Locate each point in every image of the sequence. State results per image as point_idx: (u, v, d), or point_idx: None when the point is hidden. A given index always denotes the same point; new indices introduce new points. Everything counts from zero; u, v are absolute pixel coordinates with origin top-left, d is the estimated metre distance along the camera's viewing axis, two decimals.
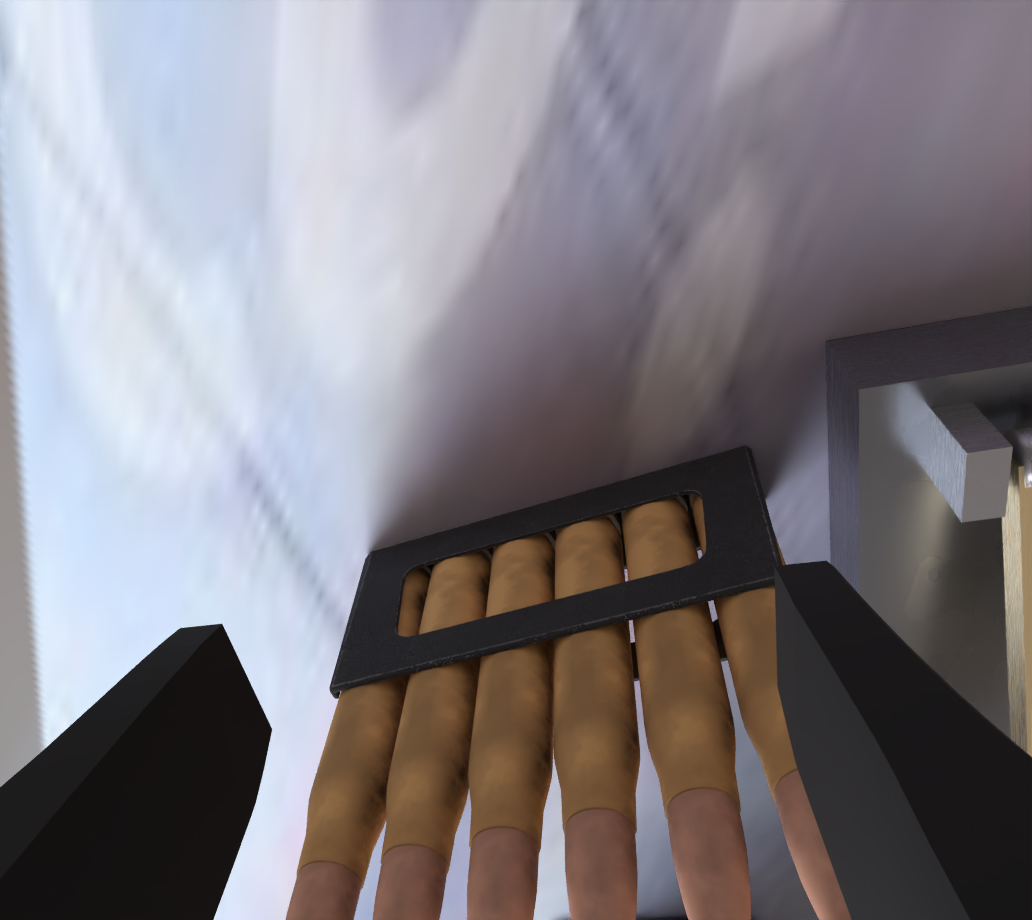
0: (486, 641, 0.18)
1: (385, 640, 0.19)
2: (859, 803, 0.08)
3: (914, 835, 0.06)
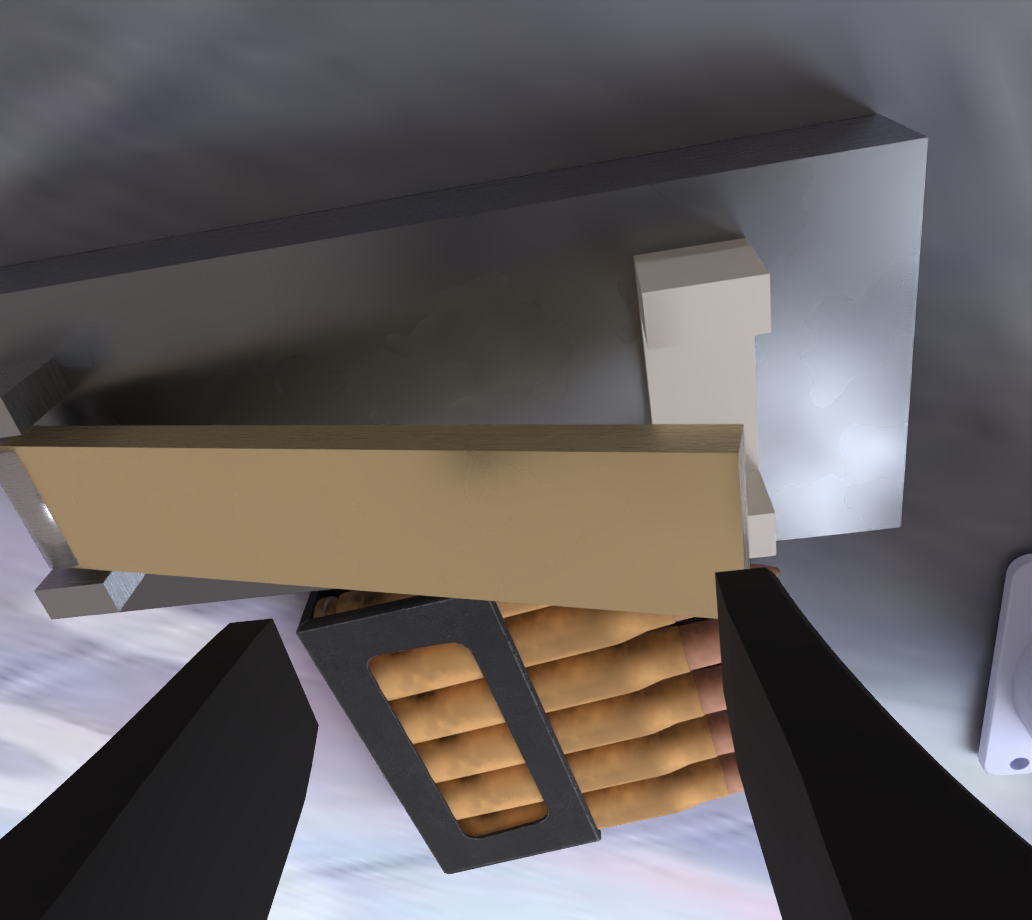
0: (554, 760, 0.23)
1: (552, 824, 0.24)
2: (782, 807, 0.08)
3: (817, 841, 0.06)
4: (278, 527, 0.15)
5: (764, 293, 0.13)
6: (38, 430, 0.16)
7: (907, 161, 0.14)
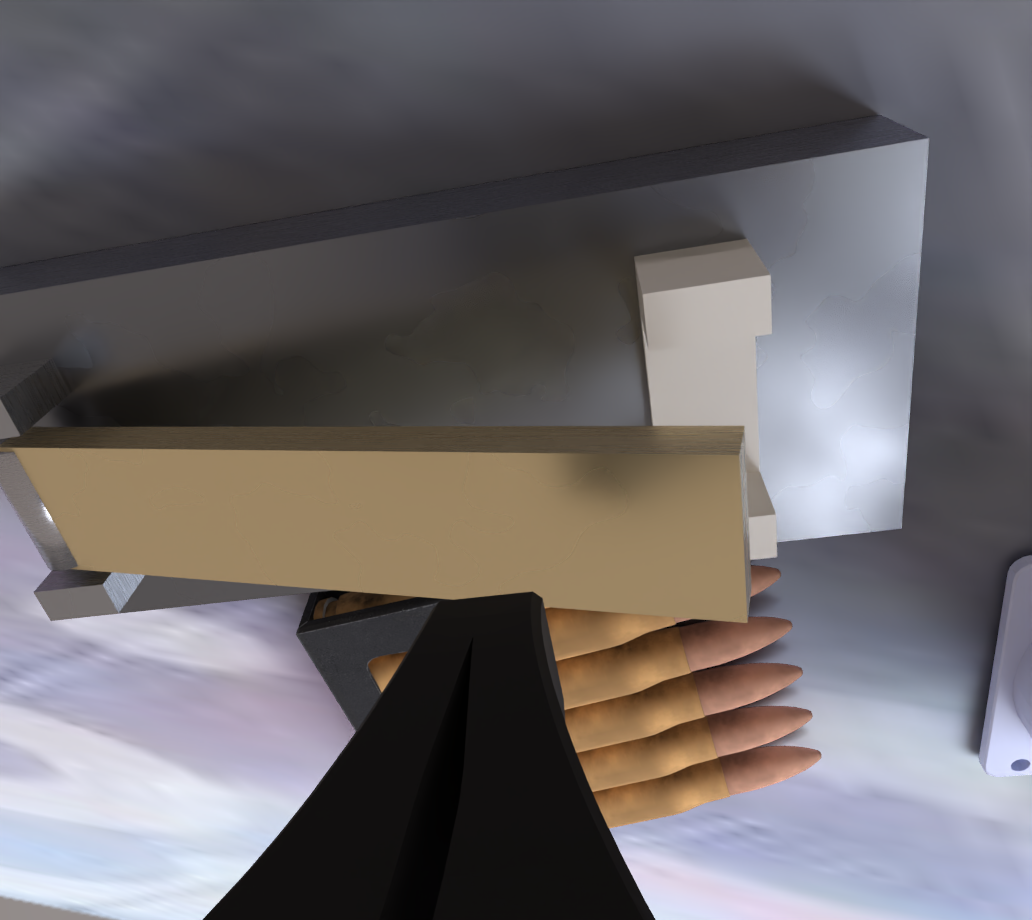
0: None
1: None
2: None
3: None
4: (278, 528, 0.15)
5: (765, 294, 0.13)
6: (37, 431, 0.16)
7: (908, 162, 0.14)
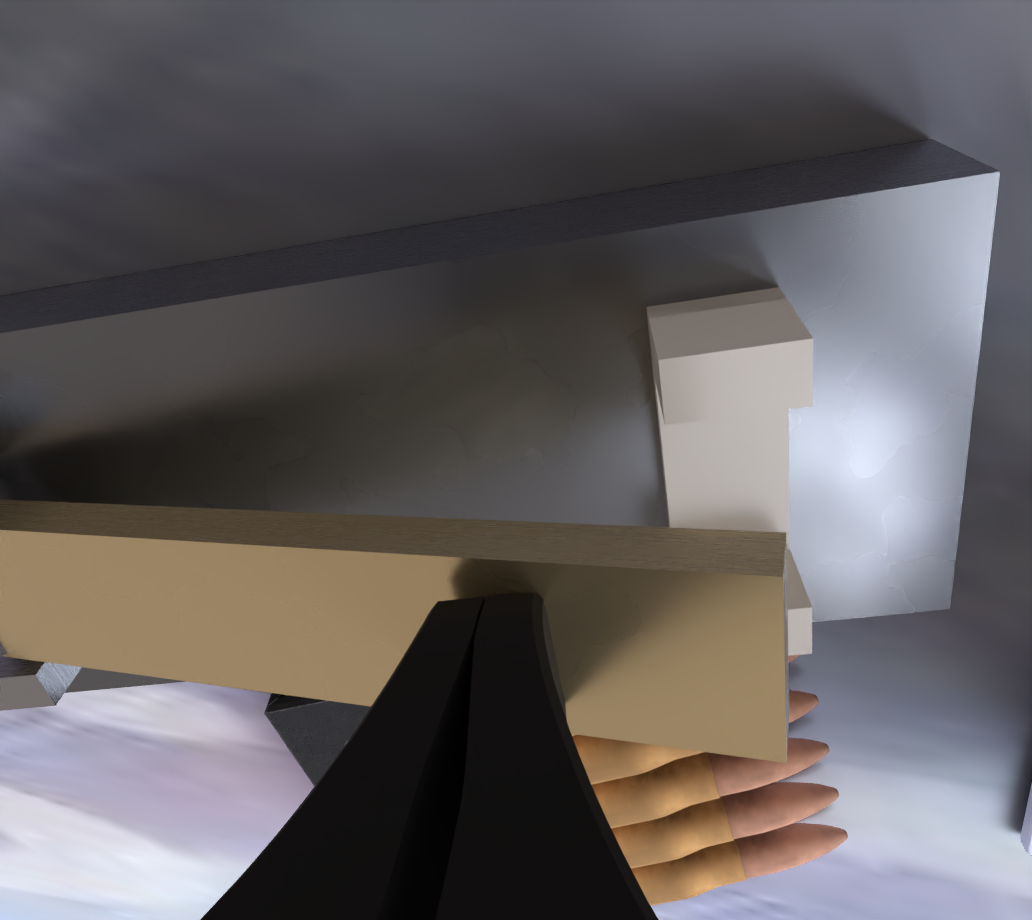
0: None
1: None
2: None
3: None
4: (228, 627, 0.12)
5: (806, 361, 0.11)
6: None
7: (974, 199, 0.12)
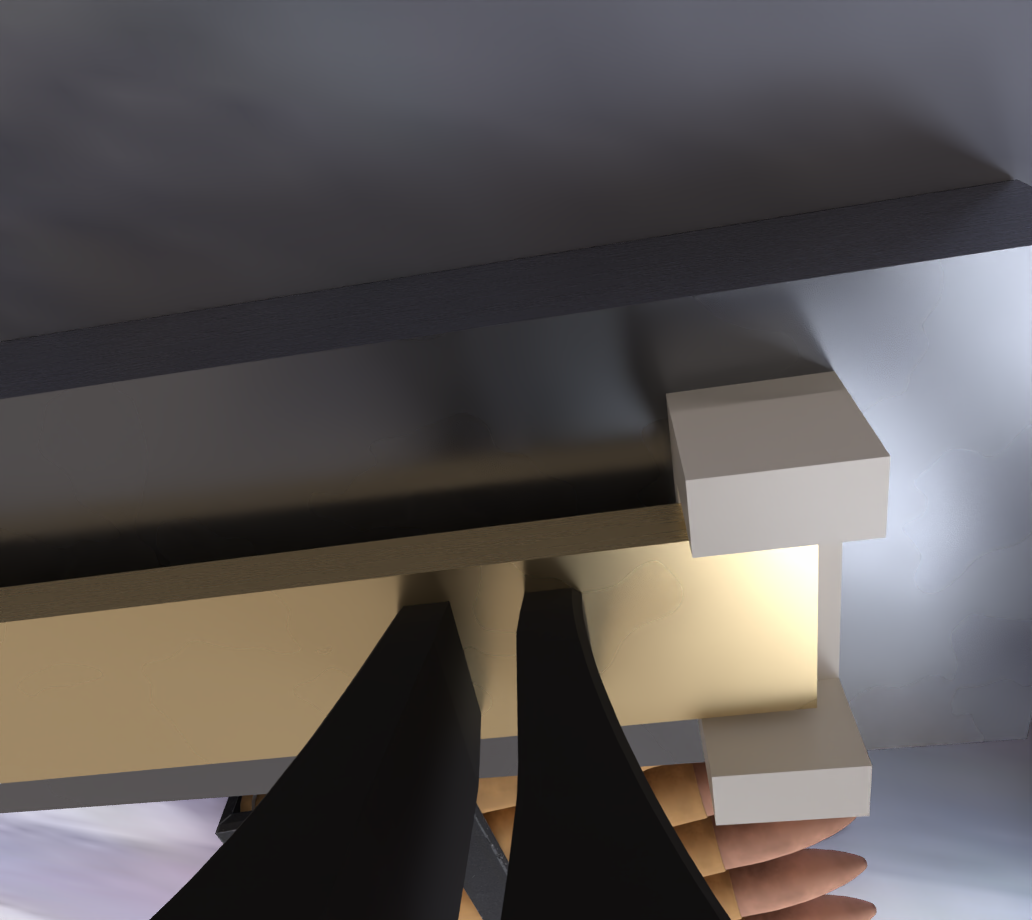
0: None
1: None
2: None
3: None
4: (214, 693, 0.11)
5: (879, 483, 0.08)
6: None
7: None
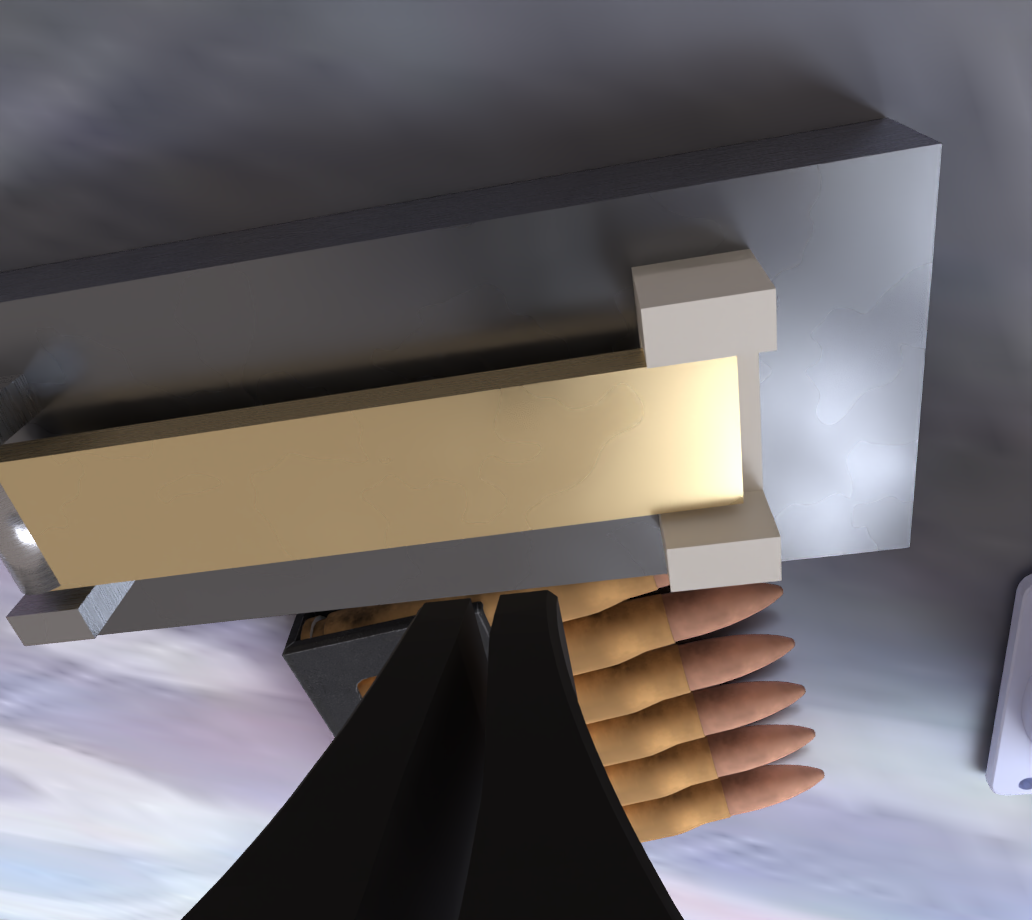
0: None
1: None
2: None
3: None
4: (302, 498, 0.15)
5: (770, 309, 0.12)
6: (9, 447, 0.16)
7: (919, 168, 0.13)
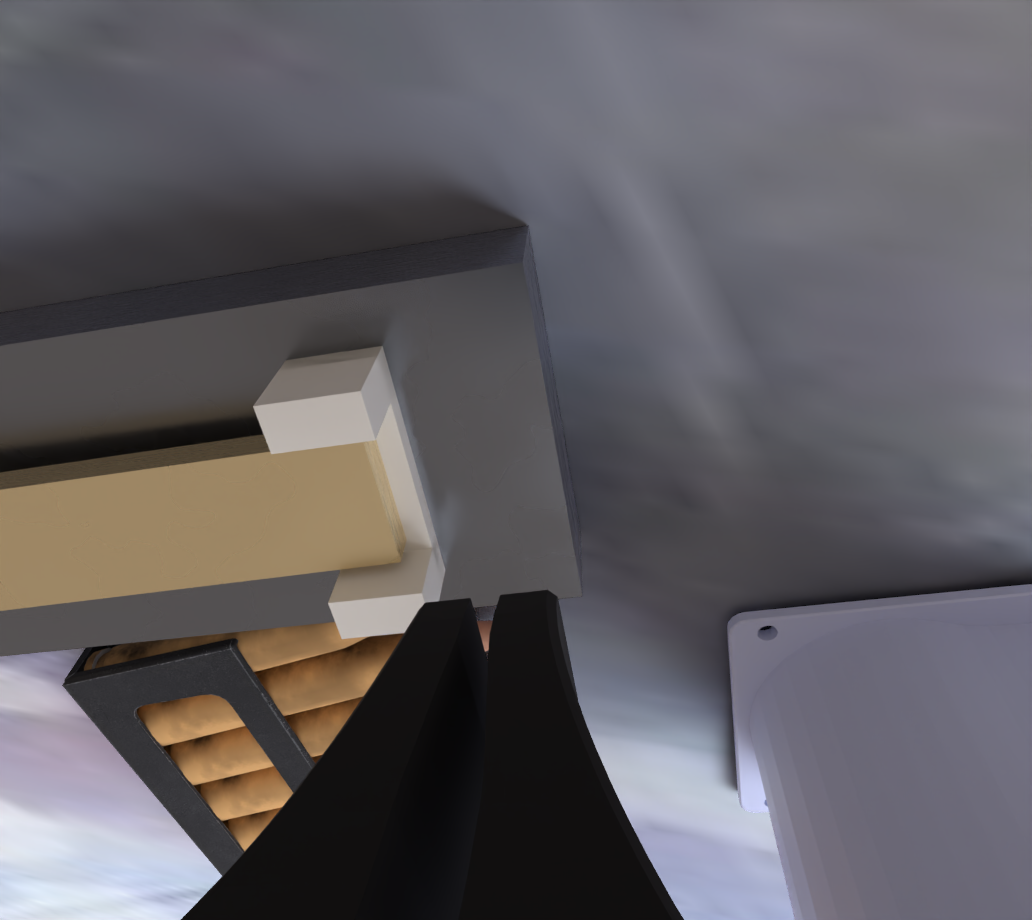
0: None
1: None
2: None
3: None
4: (20, 556, 0.17)
5: (361, 407, 0.15)
6: None
7: (509, 282, 0.15)
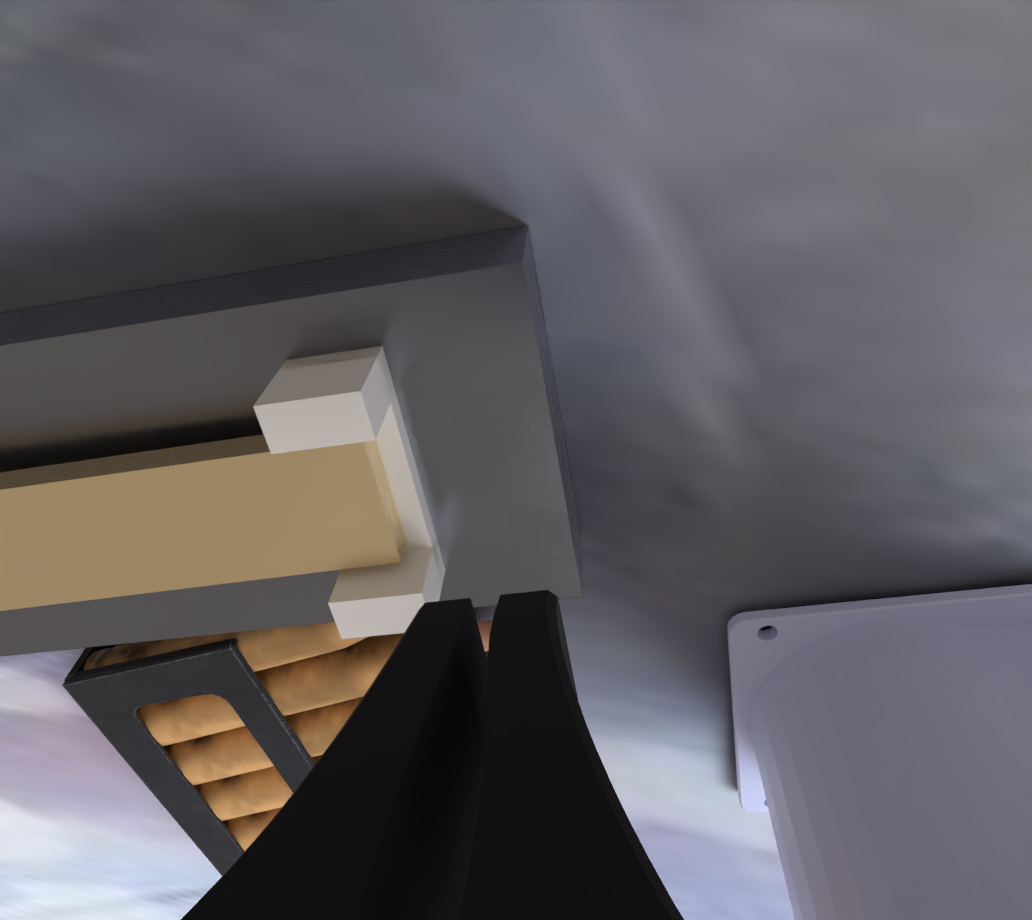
0: None
1: None
2: None
3: None
4: (20, 556, 0.17)
5: (361, 407, 0.15)
6: None
7: (509, 282, 0.15)
